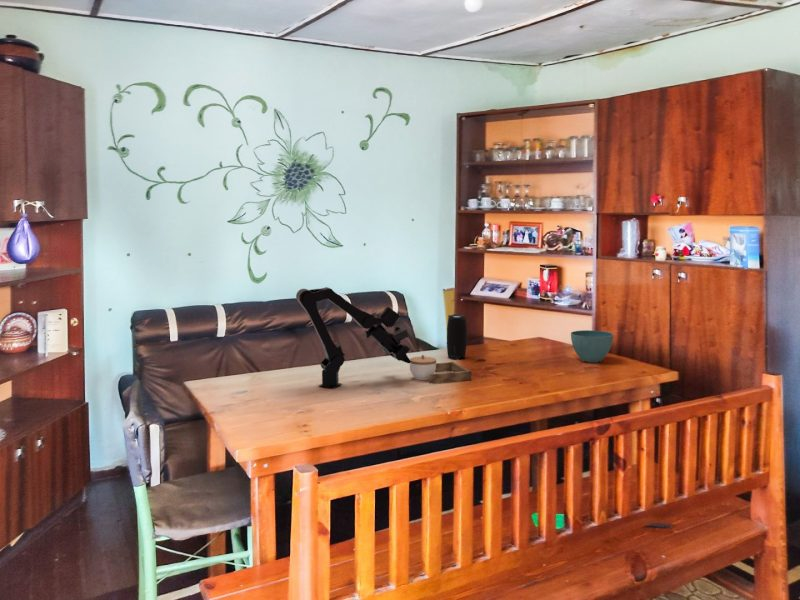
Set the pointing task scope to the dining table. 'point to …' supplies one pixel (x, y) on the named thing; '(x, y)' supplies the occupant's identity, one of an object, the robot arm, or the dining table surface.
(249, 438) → the dining table surface
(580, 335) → the teal round bowl
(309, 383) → the dining table surface
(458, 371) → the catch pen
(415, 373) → the lidded jar
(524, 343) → the dining table surface
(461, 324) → the portable speaker
